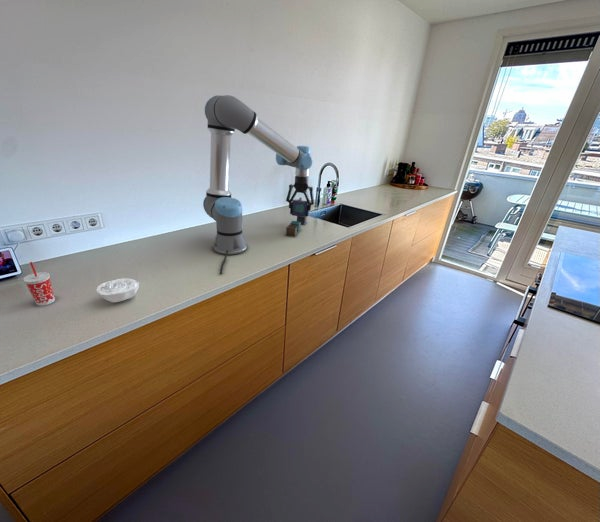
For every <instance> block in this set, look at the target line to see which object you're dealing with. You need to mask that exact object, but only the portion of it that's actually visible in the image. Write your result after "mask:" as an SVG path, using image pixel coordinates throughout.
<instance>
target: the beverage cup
mask: <svg viewBox="0 0 600 522" xmlns="http://www.w3.org/2000/svg"><path fill="white" fill-rule="evenodd" d="M29 264H30V267H31V269H32V271H33V273H31V274H28V275H26V276H24V277H23V279H22V282H24V284H26V287H27V289H28V290H29V293H30V295H31V296H32V298H33V301H34V302H35V304H36V305H37V306H39V307H41V306H47V305H51V304H52V303H54V302H55V301H56V297H55V294H54V289H53V287H52V282H51V279H50V277H51V275H50V273H49V272H45V271H41V272H36V269H35V266H34V264H33V262H32V261H30V262H29Z"/></svg>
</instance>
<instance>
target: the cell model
mask: <svg viewBox="0 0 600 522" xmlns="http://www.w3.org/2000/svg"><path fill="white" fill-rule="evenodd" d="M139 287H140V282H139V281H137V280H135V279H133V278H126V277H122V278H118V279H113V280H109V281H105V282H103V283H101V284H99V285H98V286H97V287H96V292H97V294H99V295H100V297H101V298H102V299H103V300H105V301H108V302H109V303H112V304H114V303H120V302H123V301H126V300H129V299H132V298H134V297H135V295H136V294H137V292H138V290H139Z"/></svg>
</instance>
